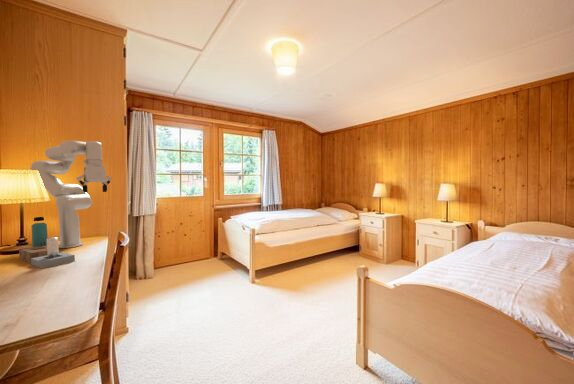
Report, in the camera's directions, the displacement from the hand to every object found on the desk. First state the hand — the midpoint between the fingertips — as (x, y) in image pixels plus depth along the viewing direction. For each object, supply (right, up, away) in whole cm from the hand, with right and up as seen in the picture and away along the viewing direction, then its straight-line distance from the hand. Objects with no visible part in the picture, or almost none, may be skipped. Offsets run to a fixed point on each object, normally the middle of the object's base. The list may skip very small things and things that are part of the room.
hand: (95, 192), depth 147 cm
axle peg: (+1, -34, -27) cm, 43 cm away
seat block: (+1, -34, -27) cm, 43 cm away
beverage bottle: (-25, -34, -8) cm, 43 cm away
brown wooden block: (-14, -34, -19) cm, 41 cm away
